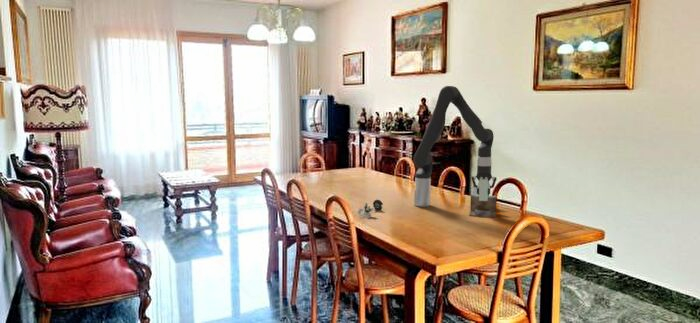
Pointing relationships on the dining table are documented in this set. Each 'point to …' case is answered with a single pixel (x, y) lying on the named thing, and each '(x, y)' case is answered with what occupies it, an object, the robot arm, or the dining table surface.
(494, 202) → the cleat stand
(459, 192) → the dining table surface
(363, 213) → the artificial flower
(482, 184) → the block
